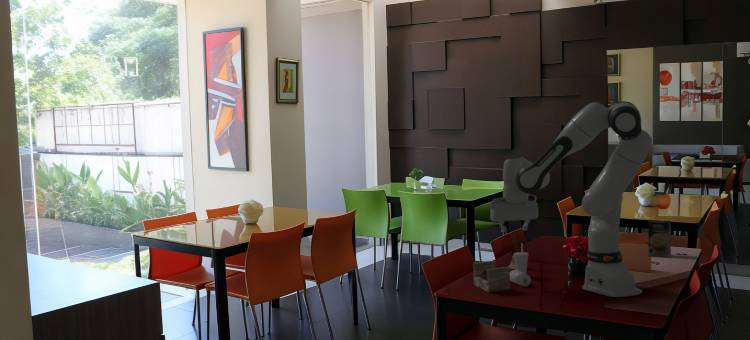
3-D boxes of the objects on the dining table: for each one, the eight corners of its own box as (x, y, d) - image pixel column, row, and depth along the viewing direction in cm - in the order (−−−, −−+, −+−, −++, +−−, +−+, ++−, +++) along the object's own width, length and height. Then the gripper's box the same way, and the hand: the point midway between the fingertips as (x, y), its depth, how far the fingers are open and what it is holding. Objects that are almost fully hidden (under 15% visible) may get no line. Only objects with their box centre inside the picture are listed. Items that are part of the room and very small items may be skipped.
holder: (510, 290, 255) (509, 267, 254) (488, 292, 252) (488, 269, 252) (494, 282, 268) (493, 260, 268) (473, 284, 266) (473, 262, 265)
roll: (530, 287, 260) (531, 274, 259) (519, 286, 258) (520, 274, 258) (518, 282, 269) (520, 269, 269) (507, 281, 267) (509, 269, 267)
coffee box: (647, 256, 303) (647, 222, 302) (650, 253, 309) (649, 219, 307) (669, 257, 298) (668, 222, 297) (671, 255, 304) (671, 220, 302)
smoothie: (529, 278, 272) (528, 244, 271) (513, 278, 273) (512, 245, 272) (529, 274, 278) (528, 242, 277) (513, 274, 280) (512, 242, 279)
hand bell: (522, 270, 286) (521, 234, 285) (504, 268, 291) (503, 233, 290) (530, 267, 293) (529, 231, 292) (512, 265, 298) (511, 230, 297)
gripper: (494, 199, 255) (494, 234, 257) (540, 196, 262) (540, 230, 263) (487, 197, 261) (487, 231, 263) (531, 194, 268) (531, 228, 269)
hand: (514, 231), depth 263 cm, fingers open, 8 cm apart
